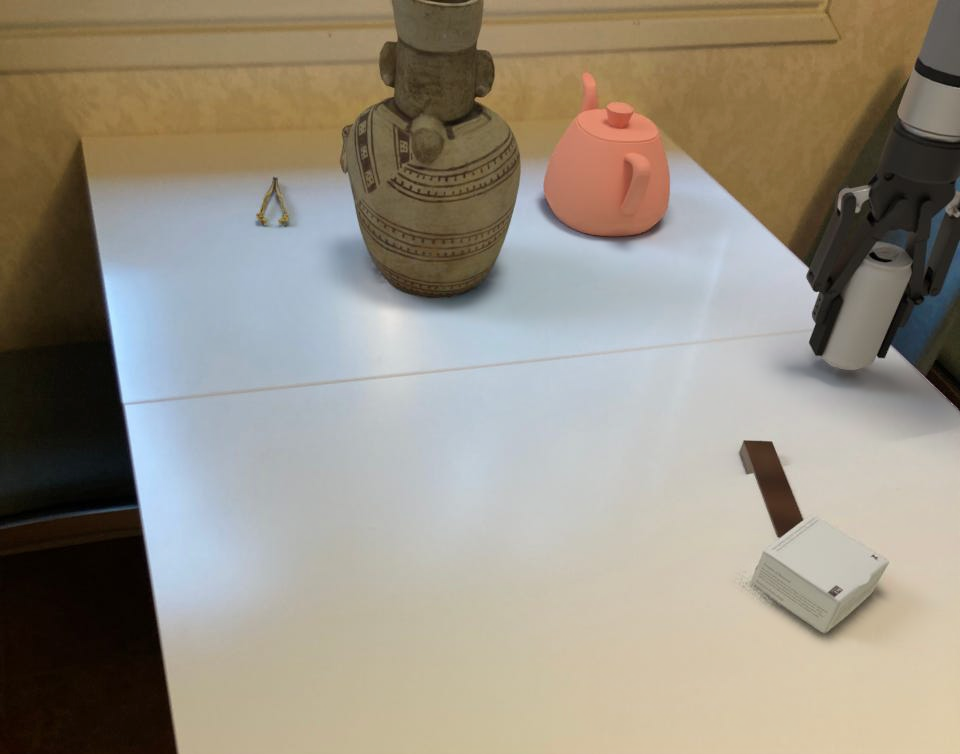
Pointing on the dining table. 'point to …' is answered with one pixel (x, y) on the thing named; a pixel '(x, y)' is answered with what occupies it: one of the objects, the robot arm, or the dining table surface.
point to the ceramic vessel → (433, 155)
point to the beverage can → (868, 307)
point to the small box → (818, 572)
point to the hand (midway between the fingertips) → (846, 350)
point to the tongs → (265, 200)
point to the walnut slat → (772, 484)
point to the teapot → (608, 170)
